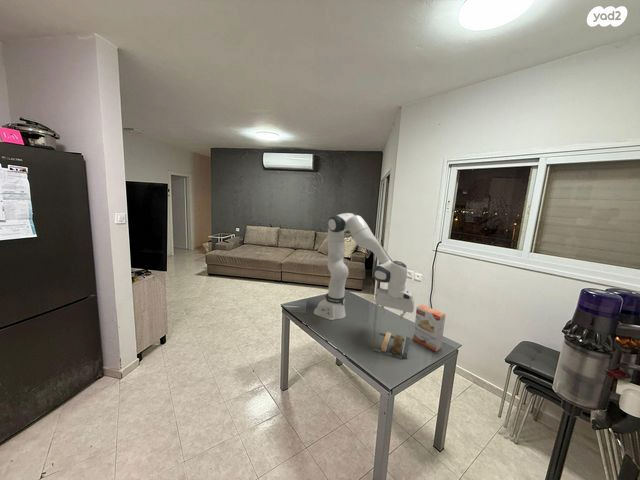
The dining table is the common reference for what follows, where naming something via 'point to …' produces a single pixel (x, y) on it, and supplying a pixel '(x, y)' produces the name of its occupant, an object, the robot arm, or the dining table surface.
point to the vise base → (404, 351)
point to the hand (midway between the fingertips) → (392, 315)
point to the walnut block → (397, 344)
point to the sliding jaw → (386, 342)
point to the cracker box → (429, 327)
